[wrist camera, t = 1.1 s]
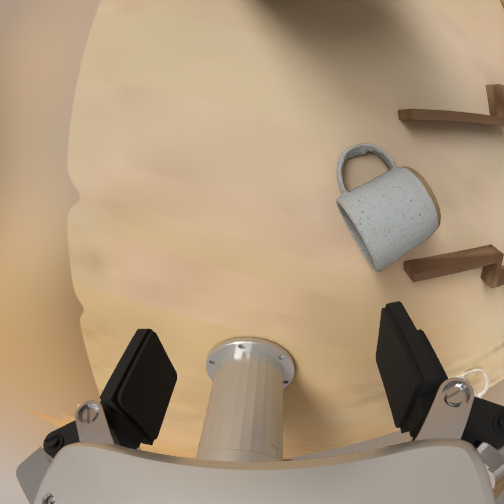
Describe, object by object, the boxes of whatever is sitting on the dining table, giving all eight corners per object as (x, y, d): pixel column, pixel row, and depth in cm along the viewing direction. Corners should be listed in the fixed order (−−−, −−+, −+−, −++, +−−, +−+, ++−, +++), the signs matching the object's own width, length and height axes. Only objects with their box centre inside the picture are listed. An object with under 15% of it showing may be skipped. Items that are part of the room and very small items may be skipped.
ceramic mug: (420, 215, 27) (455, 241, 20) (360, 251, 29) (382, 288, 22) (379, 128, 23) (413, 129, 16) (312, 167, 26) (325, 181, 19)
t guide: (534, 261, 27) (544, 269, 24) (400, 296, 31) (409, 310, 28) (543, 102, 16) (555, 103, 13) (391, 72, 20) (403, 68, 18)
